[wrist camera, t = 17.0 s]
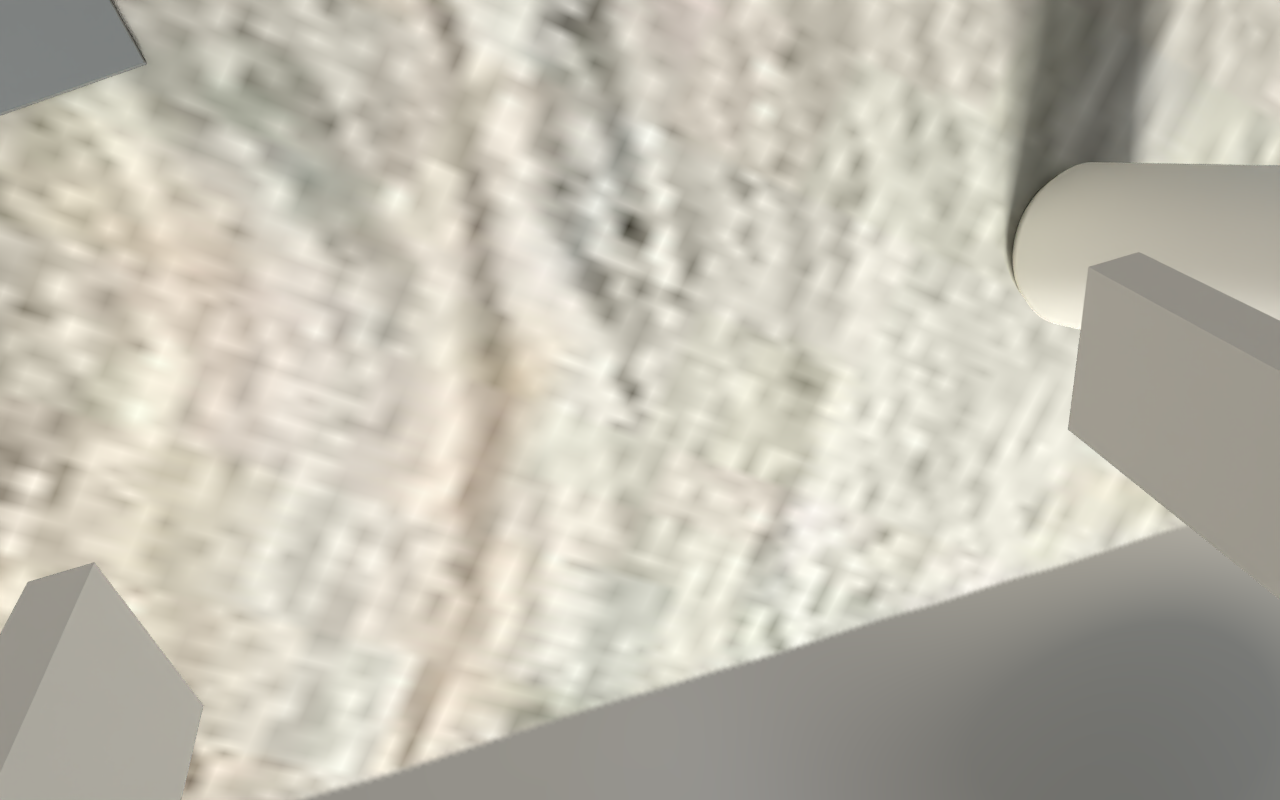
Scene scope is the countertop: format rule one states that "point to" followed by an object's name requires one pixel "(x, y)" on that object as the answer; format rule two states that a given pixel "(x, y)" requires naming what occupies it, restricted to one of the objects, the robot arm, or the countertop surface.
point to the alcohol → (1151, 231)
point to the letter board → (59, 48)
